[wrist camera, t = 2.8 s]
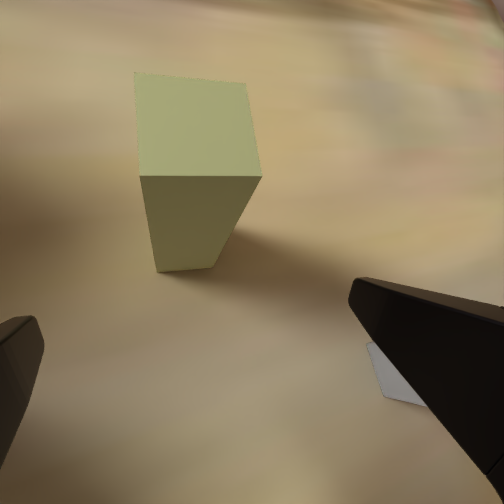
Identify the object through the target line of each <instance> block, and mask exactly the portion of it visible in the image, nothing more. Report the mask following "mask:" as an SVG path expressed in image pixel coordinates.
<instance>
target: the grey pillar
mask: <svg viewBox="0 0 504 504" xmlns="http://www.w3.org/2000/svg"><path fill="white" fill-rule="evenodd" d="M366 345H367V348H368V351H369V354H370V357H371V360H372V363H373V366H374V369H375V372H376V375H377V378H378V381H379V384H380V387H381V390H382V393H383V396H384V397H388V398H393V399H397V400H401V401H405V402H410V403H414V404H418V405H422V406H426V407H427V405H426V404H425V403H424V402H423V401H422V399H421V398H420V397H419V396H418V395H417V393H416V392H415V391H414V390H413V388H412V387H411V386H410V385H409V384H408V382H407V381H406V380H405V379H404V378H403V376H402V375H401V374H400V373H399V372H398V370H397V369H396V368H395V367H394V366H393V364H392V363H391V362H390V361H389V360H388V358H387V357H386V356H385V355H384V354H383V352H382V351H381V350H380V349H379V347H378V346H377V345H376V344H375V343H374V341H373V342H370V343H367V344H366Z"/></svg>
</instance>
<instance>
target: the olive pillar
mask: <svg viewBox="0 0 504 504" xmlns="http://www.w3.org/2000/svg"><path fill="white" fill-rule="evenodd" d="M134 86H135V103H136V121H137V138H138V156H139V174H140V181H141V186H142V192H143V197H144V203H145V209H146V214H147V220H148V226H149V231H150V237H151V243H152V248H153V254H154V259H155V265H156V271H157V272H168V271H180V270H191V269H203V268H212V267H213V266H214V264H215V262H216V260H217V258H218V256H219V255H220V253H221V251H222V249H223V247H224V245H225V244H226V242H227V240H228V238H229V236H230V234H231V233H232V231H233V229H234V227H235V225H236V223H237V222H238V220H239V218H240V216H241V214H242V212H243V211H244V209H245V207H246V205H247V203H248V201H249V200H250V198H251V196H252V194H253V192H254V190H255V189H256V187H257V185H258V183H259V181H260V179H261V178H262V171H261V166H260V160H259V155H258V149H257V144H256V138H255V132H254V127H253V121H252V116H251V110H250V105H249V99H248V94H247V88H246V84H245V83H235V82H225V81H215V80H205V79H195V78H185V77H175V76H165V75H155V74H145V73H134Z"/></svg>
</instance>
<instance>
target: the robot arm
mask: <svg viewBox="0 0 504 504" xmlns="http://www.w3.org/2000/svg"><path fill="white" fill-rule="evenodd" d="M348 303H349V306H350V308H351V309H352V311H353V312H354V314H355V315H356V317H357V318H358V320H359V321H360V323H361V324H362V326H363V327H364V329H365V330H366V332H367V333H368V334H369V336H370V337H371V339H372V340H373V341H374V343H375V344H376V345H377V346H378V347H379V349H380V350H381V351H382V352H383V354H384V355H385V356H386V357H387V358H388V360H389V361H390V362H391V363H392V364H393V366H394V367H395V368H396V369H397V370H398V372H399V373H400V374H401V375H402V376H403V378H404V379H405V380H406V381H407V382H408V384H409V385H410V386H411V387H412V388H413V390H414V391H415V392H416V393H417V395H418V396H419V397H420V398H421V399H422V401H423V402H424V403H425V404H426V405H427V407H428V408H429V409H430V410H431V411H432V413H433V414H434V415H435V416H436V417H437V419H438V420H439V421H440V422H441V423H442V425H443V426H444V427H445V428H446V429H447V431H448V432H449V433H450V434H451V435H452V437H453V438H454V439H455V440H456V442H457V443H458V444H459V445H460V446H461V448H462V449H463V450H464V451H465V452H466V454H467V455H468V456H469V457H470V458H471V460H472V461H473V462H474V463H475V464H476V466H477V467H478V468H479V469H480V470H481V472H482V473H483V474H484V475H486V478H487V479H488V480H489V482H490V483H491V484H492V486H493V487H494V489H495V490H496V492H497V493H498V495H499V497H500V498H501V500H502V502H503V504H504V307H503V306H501V307H499V306H496V305H492V304H487V303H483V302H478V301H474V300H469V299H465V298H460V297H455V296H451V295H446V294H442V293H437V292H433V291H428V290H424V289H419V288H414V287H410V286H405V285H401V284H396V283H392V282H387V281H382V280H378V279H373V278H369V277H361V278H356V279H355V280H354V281H353V283H352V287H351V290H350V294H349V298H348ZM43 353H44V339H43V336H42V334H41V331H40V328H39V325H38V322H37V320H36V318H35V317H34V316H32V315H29V316H20V317H14V318H11V319H9V320H7V321H5V322H3V323H1V324H0V469H1V467H2V464H3V462H4V460H5V457H6V455H7V453H8V450H9V448H10V446H11V443H12V441H13V439H14V437H15V434H16V432H17V430H18V427H19V425H20V423H21V420H22V418H23V416H24V413H25V411H26V408H27V406H28V403H29V400H30V397H31V394H32V391H33V387H34V384H35V380H36V377H37V373H38V370H39V366H40V363H41V359H42V356H43Z"/></svg>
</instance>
